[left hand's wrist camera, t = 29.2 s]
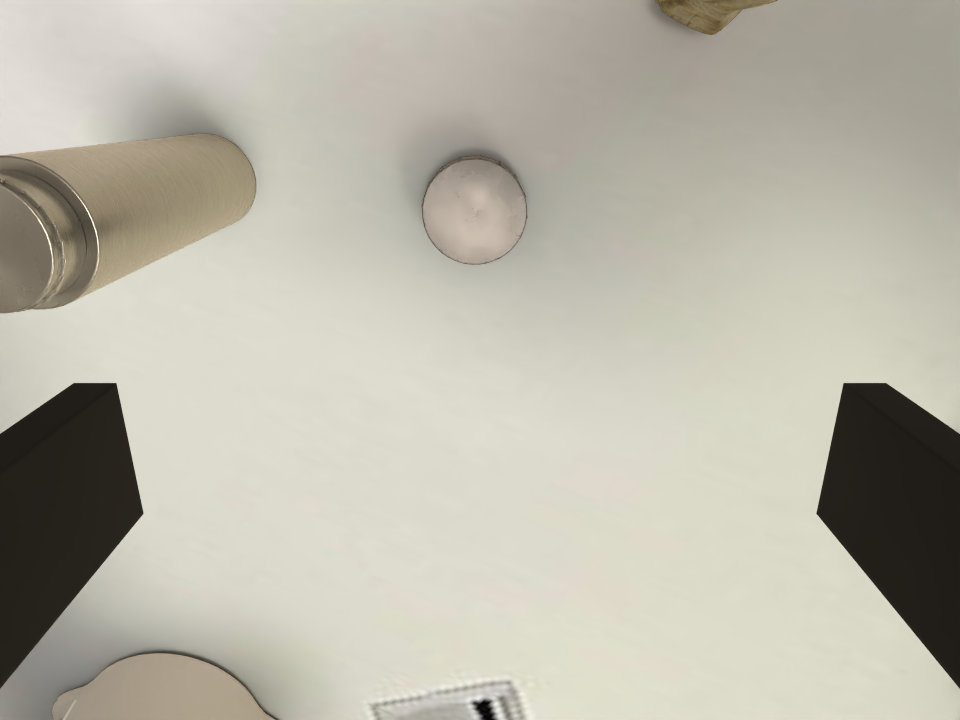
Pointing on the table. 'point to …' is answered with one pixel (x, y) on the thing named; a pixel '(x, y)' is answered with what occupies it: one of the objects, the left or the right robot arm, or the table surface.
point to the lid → (474, 210)
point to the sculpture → (707, 12)
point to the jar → (110, 212)
